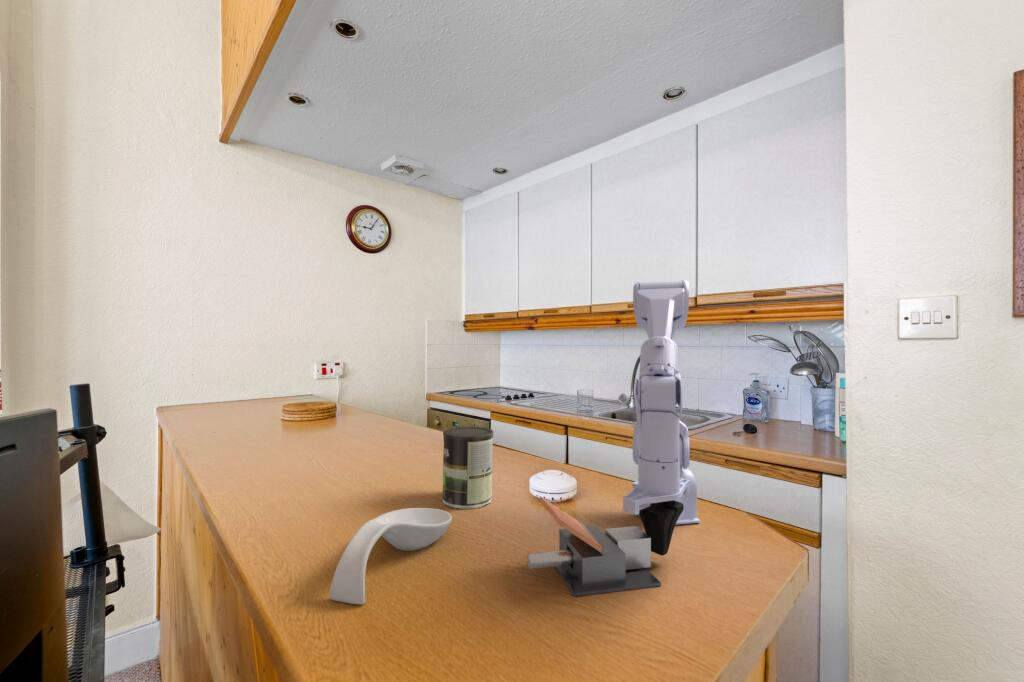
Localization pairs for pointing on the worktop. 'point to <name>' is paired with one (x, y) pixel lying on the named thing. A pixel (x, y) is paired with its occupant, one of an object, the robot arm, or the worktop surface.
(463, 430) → the coffee can
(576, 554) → the hitch block
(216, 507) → the worktop surface
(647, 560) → the hitch pin
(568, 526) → the plate
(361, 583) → the spoon rest
